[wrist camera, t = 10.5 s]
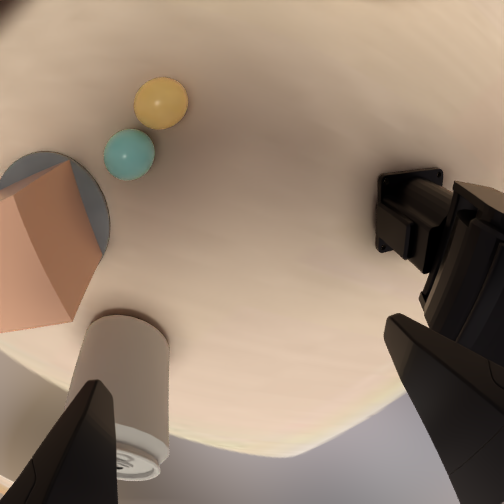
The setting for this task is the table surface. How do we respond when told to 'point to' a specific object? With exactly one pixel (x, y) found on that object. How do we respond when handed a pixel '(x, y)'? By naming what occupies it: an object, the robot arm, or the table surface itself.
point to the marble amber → (160, 103)
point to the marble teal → (129, 154)
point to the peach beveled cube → (44, 250)
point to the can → (130, 389)
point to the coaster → (85, 183)
